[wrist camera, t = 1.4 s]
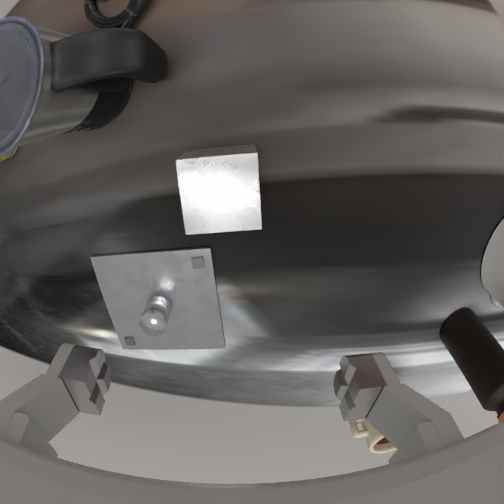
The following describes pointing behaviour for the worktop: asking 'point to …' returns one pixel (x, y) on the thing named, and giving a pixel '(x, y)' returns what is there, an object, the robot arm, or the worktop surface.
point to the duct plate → (165, 282)
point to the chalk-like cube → (220, 189)
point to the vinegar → (477, 358)
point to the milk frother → (70, 74)
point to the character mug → (371, 436)
